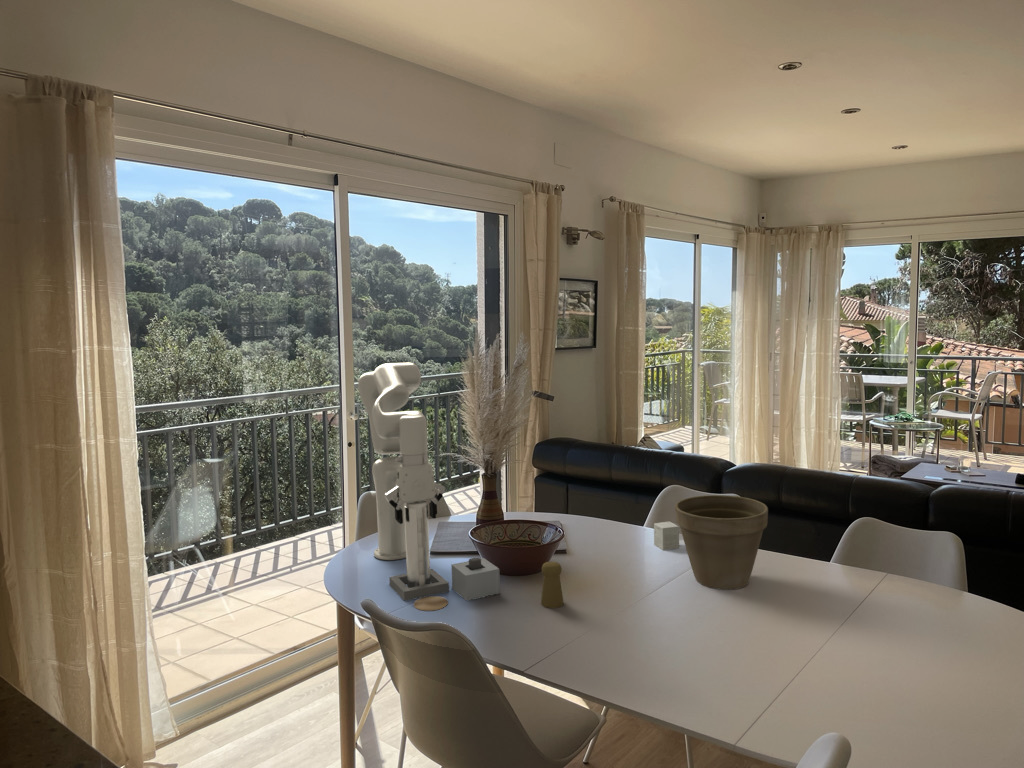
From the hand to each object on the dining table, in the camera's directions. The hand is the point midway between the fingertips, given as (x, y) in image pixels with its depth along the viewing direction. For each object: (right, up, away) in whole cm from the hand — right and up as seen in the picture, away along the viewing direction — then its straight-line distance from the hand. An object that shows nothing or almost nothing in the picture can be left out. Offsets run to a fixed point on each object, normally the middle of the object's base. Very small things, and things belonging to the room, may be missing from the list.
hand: (416, 519), depth 203 cm
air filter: (0, -20, +2) cm, 20 cm away
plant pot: (+85, -18, +3) cm, 87 cm away
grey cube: (+77, -15, +33) cm, 85 cm away
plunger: (+16, -15, -1) cm, 22 cm away
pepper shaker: (+37, -20, -10) cm, 44 cm away
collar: (0, -20, +2) cm, 20 cm away
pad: (+5, -21, -9) cm, 23 cm away
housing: (+17, -20, -1) cm, 26 cm away
